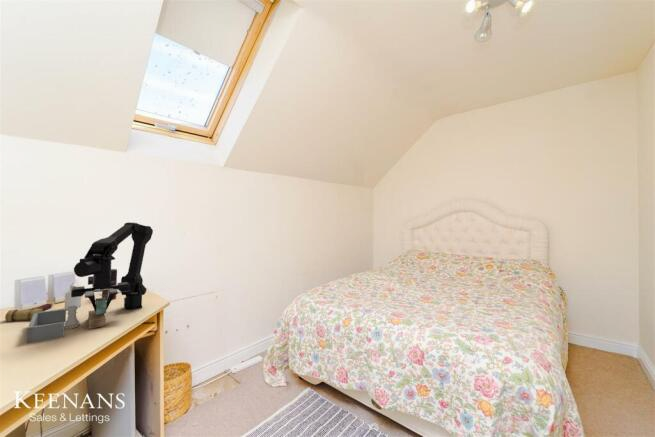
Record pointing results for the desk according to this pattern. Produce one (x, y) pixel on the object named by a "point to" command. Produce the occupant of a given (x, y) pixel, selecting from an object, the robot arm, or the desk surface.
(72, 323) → the rook chess piece
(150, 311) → the desk surface
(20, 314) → the gavel
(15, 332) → the desk surface
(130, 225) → the robot arm
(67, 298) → the eye dropper bottle
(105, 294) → the deodorant
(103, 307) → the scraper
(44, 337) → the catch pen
